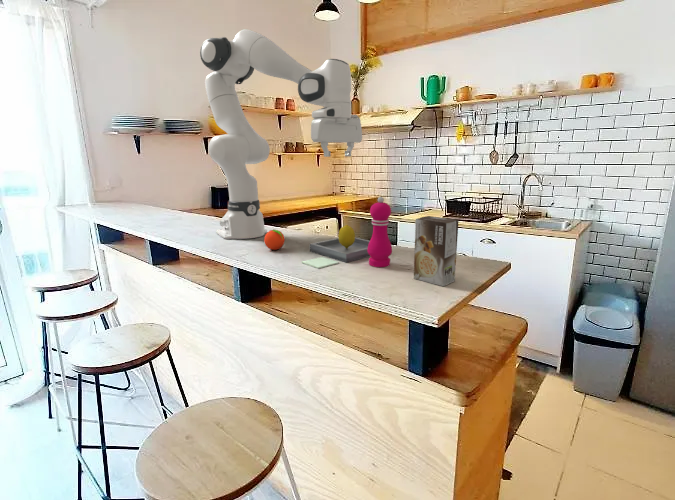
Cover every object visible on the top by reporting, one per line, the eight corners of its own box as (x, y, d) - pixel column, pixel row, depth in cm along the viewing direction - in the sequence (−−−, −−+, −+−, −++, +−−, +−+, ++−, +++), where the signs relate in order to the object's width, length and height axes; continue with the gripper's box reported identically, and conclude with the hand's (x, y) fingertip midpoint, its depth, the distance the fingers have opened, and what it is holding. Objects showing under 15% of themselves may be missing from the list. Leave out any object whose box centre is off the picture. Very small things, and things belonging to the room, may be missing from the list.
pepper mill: (373, 259, 116) (374, 194, 111) (395, 263, 113) (397, 196, 108) (363, 265, 110) (363, 197, 105) (385, 269, 107) (387, 198, 102)
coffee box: (456, 280, 97) (460, 219, 93) (443, 287, 92) (447, 222, 88) (425, 273, 103) (428, 215, 99) (411, 278, 99) (414, 218, 95)
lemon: (355, 250, 123) (355, 226, 121) (338, 250, 123) (338, 226, 121) (354, 246, 128) (354, 223, 126) (338, 246, 128) (338, 223, 126)
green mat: (301, 262, 114) (301, 261, 113) (322, 257, 119) (322, 256, 119) (318, 268, 108) (318, 267, 108) (339, 263, 113) (339, 262, 113)
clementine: (291, 249, 129) (290, 229, 127) (275, 253, 124) (273, 232, 122) (276, 246, 134) (275, 226, 133) (260, 249, 129) (259, 229, 128)
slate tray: (309, 251, 127) (309, 243, 126) (348, 243, 138) (348, 235, 137) (346, 262, 114) (346, 254, 113) (385, 252, 125) (385, 244, 124)
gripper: (353, 115, 133) (353, 156, 136) (307, 112, 119) (308, 156, 123) (366, 114, 128) (366, 156, 131) (320, 110, 115) (320, 156, 118)
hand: (337, 156), depth 127 cm, fingers open, 8 cm apart
